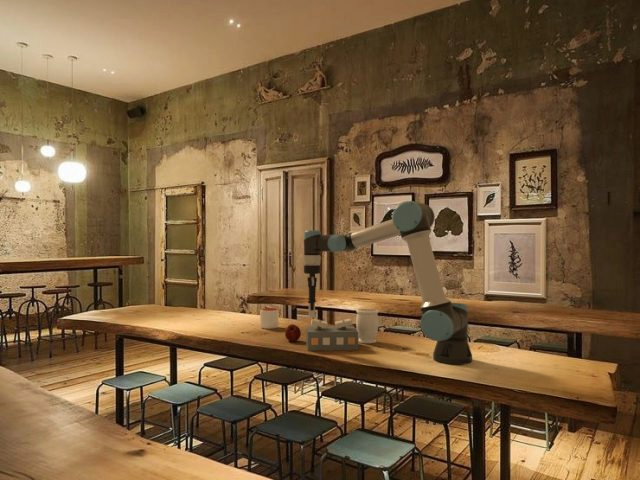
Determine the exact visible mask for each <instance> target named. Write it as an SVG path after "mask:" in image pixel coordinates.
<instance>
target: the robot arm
mask: <svg viewBox="0 0 640 480" xmlns="http://www.w3.org/2000/svg"><path fill="white" fill-rule="evenodd" d="M435 217H436V215H435V212H434V210H433V208H432V207H431V206H430V205H428V204H426V203H423V202H416V201H413V200H407V201H403V202H400V203H399V204H397V205H396V207H395V208H394V210H393V212H392V216H391V219H389V220H386V221H383V222H379V223H377V224H374V225H370V226H368V227H364V228H362V229H357V230H355V231H353V232H350V233H347V234H321V233H322V232H321V231H320V230H316V229H314V230H311V229H310V230H305V231H304V234H303V264H304V265H303V273H304V274H306V275H308V277H307V287H308V301H307V304H308V318H311V319H314V318H316V303H317V300H316V288H317V280H318V279H317V277H316V275H319V274H321V270H322V269H321V265H320V264H321V260H322V258H323V257H321V253H322V252H324V253H325V252H326V253H339V252H340V253H341V252H347V253H348V252H350V253H351V252H353V251H356V250H357V249H359V248H362V247H365V246H369V245H372V244H375V243H378V242H382V241H385V240H388V239H391V238H395V237H398V236H401V240H402V241H404V242H406V243H407V248H408V250H409V255H410V259H411V262H412V266H413V270H414V275H415V277H416V281H417V285H418V288H419V289H418V290H419V292H420V293H419V294H420V297H421V301H422V304H420V306H419V307H420V308H419V309H420V312H421V315H422V316H421V318H420V321H419V322H420V323H419V325H420V329H421V331H422V334H423V335H424V336H425V337H426V338H428V339H429V340H431V341H434V342H436V344H435V347H434V350H433V355H432V359H433V361H436V362H438V363H442V364H447V365H468V364H471V363H472V362H473V353H472V351H471V348H470V344H469V340H468V336H469V335H468V331H469V326H468V325H469V323H468V322H469V319H468V318H469V310H468V309H469V308H468V305H467V304H466V303H461V302H460V303H459V302H452V301H451V300H450V299H449V298H447V297H446V294H445V291H444V287H443V283H442V280H441V277H440V276H441V275H440V273H439V269H438V265H437V262H436V259H435V255H434V252H433V247H432V245H431V241H430V240H431V239H430V238H429V237H430V234H431V233H432V229H431V228H432V226H433V225H434V223H435V219H436V218H435Z"/></svg>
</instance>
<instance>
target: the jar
mask: <svg viewBox="0 0 640 480" xmlns="http://www.w3.org/2000/svg"><path fill="white" fill-rule="evenodd" d="M355 312H356V313H357V314H356V319H355V325H356V327H355V328H356V330H357V331H358V343H361V344H375V343H377V340H376V337H377V335H378V330H379V321H380V320H379V315H378V314H379V310H378V309H375V308H374V309H373V308H359V309H356V311H355Z"/></svg>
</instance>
